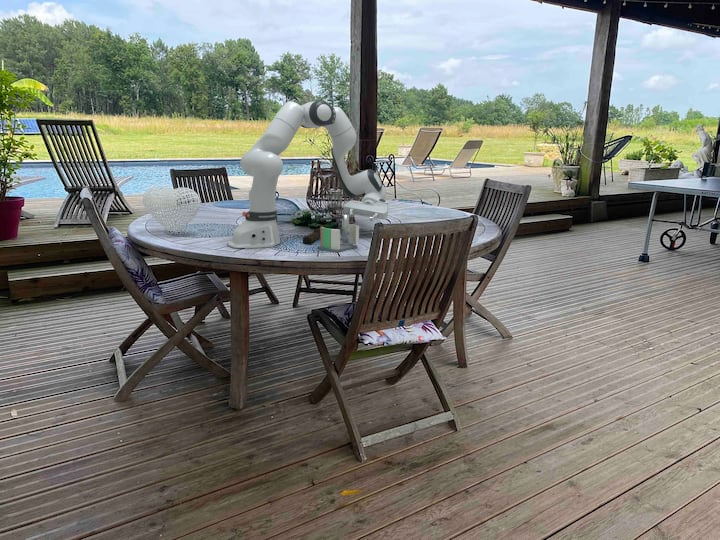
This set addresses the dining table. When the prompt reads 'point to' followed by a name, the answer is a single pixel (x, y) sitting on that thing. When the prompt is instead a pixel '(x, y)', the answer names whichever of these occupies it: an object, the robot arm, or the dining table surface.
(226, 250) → the dining table surface
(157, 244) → the dining table surface
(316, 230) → the hand tool
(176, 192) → the heart
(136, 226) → the dining table surface
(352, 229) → the gauge lever
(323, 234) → the base
